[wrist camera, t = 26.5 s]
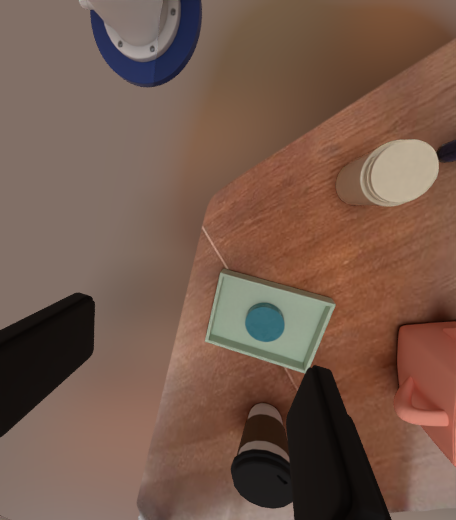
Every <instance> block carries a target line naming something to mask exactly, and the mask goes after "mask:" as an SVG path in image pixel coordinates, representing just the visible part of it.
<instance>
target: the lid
mask: <svg viewBox="0 0 456 520" xmlns="http://www.w3.org/2000/svg"><path fill="white" fill-rule="evenodd" d="M245 326H246V330H247V332H248V333H249V334H250V335H251V336H252V337H253V338H254V339H256V340H258V341H262V342H271V341H274V340H276V339H278V338H279V337H280V336H281V335H282V333H283V332H284V328H285V323H284V317H283V314H282V312H281V311H280V309H279V308H278V307H276V306H275V305H273V304H270V303H258V304H255V305H253V306H252V307H251V308H250V309H249V310H248V312H247V315H246V321H245Z"/></svg>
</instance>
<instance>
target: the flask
mask: <svg viewBox="0 0 456 520" xmlns="http://www.w3.org/2000/svg"><path fill="white" fill-rule="evenodd" d="M436 154H437V157H438V160H439V161H440V162H444V163H445V162H453V161H456V140H454V141H451V142H448V143H446V144H443V145H442V146H441V147H440V149H438V151H437V152H436Z"/></svg>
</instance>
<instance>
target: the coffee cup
mask: <svg viewBox="0 0 456 520" xmlns="http://www.w3.org/2000/svg"><path fill="white" fill-rule="evenodd" d="M231 474H232V479H233V482H234V486H235V488H236V489H237V490H238V492H239V493H240V495H241V496H243V497H244V498H245V499H247V500H248V501H249V502H251V503H253V504H256V505H258V506H260V507H266V508H281V507H285V506H286V505H288V504H290V503H292V502H293V497H292V485H291V474H290V462H289V451H288V441H287V437H286V432H285V428H284V427H283V423H282V418H281V416H280V414H279V412H278V411H277V409H276V408H275V407H273V406H272V405H270V404H267V403H260V404H256V405H255V406H254V407H252V409H251V410H250V413H249V416H248V419H247V421H246V424H245V427H244V431H243V435H242V438H241V442H240V446H239V449H238V453H237V456H236V457H235V458H234V460H233V463H232V465H231Z"/></svg>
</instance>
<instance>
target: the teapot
mask: <svg viewBox="0 0 456 520" xmlns="http://www.w3.org/2000/svg"><path fill="white" fill-rule="evenodd" d="M397 368H398V378H399V389H398V390H397V392H396V394H395V397H394V409H395V412H396V413H397V415H398V416H399V417H400V418H401V419H403V420H404V421H406V422H409V423H412V424H417V425H421V426H422V428H423V429H424V430H425V432H426V433H427V434H428V435H429V437H430V438H431V439H432V440H433V441H434V443H435V444H436V445H437V446H438V447H439V449H440V450H441V451H442V452H443V453H444V454H445V456H446V457H447V458H448V459H449V460H450V461H451V463H452V464H453V465H454V466H455V467H456V321H453V322H438V323H425V324H413V325H404V326H401V327H400V330H399V336H398V352H397Z"/></svg>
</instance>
